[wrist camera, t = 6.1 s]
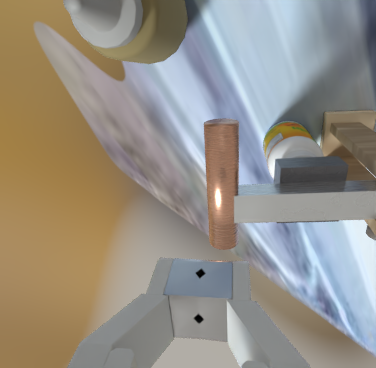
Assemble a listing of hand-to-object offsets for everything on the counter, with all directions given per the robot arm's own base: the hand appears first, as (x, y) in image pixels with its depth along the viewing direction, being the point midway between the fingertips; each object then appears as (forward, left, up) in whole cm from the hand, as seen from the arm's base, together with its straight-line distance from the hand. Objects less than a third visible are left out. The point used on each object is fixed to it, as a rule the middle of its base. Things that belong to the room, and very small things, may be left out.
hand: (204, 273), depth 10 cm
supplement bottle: (+5, +7, -28) cm, 29 cm away
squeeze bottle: (-9, -8, -28) cm, 30 cm away
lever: (+3, +6, -16) cm, 17 cm away
